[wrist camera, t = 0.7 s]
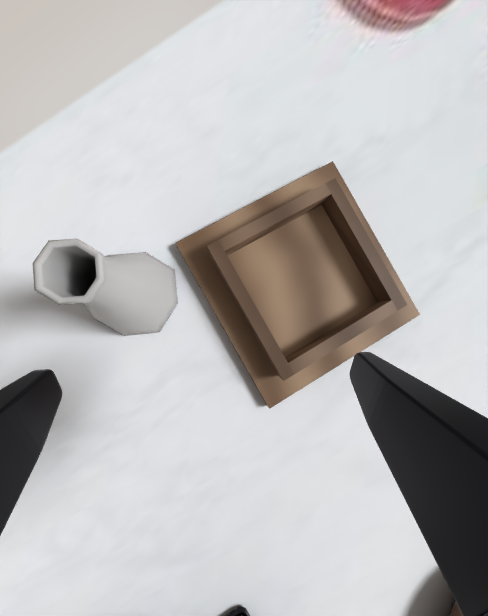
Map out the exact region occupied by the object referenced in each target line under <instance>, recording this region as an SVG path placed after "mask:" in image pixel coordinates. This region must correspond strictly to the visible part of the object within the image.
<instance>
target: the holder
mask: <svg viewBox="0 0 488 616" xmlns="http://www.w3.org/2000/svg"><path fill="white" fill-rule="evenodd" d="M176 245H177V247H178V249H179V251H180V252H181V254H182V256H183V258H184V259H185V261H186V263H187V265H188V266H189V268H190V270H191V272H192V273H193V275H194V277H195V279H196V280H197V282H198V284H199V286H200V287H201V289H202V291H203V293H204V294H205V296H206V298H207V300H208V302H209V303H210V305H211V307H212V309H213V310H214V312H215V314H216V316H217V317H218V319H219V321H220V323H221V324H222V326H223V328H224V330H225V331H226V333H227V335H228V337H229V338H230V340H231V342H232V344H233V346H234V347H235V349H236V351H237V353H238V354H239V356H240V358H241V360H242V361H243V363H244V365H245V367H246V368H247V370H248V372H249V374H250V375H251V377H252V379H253V381H254V382H255V384H256V386H257V388H258V389H259V391H260V393H261V395H262V397H263V398H264V400H265V402H266V404H267V405H268V407H269V409H270V408H271V407H273V406H275V405H276V404H278V403H279V402H281V401H283V400H284V399H286V398H287V397H289V396H291V395H292V394H294V393H295V392H297V391H299V390H300V389H302V388H303V387H305V386H307V385H308V384H310V383H311V382H313V381H315V380H316V379H318V378H319V377H321V376H323V375H324V374H326V373H327V372H329V371H331V370H332V369H334V368H335V367H337V366H339V365H340V364H342V363H343V362H345V361H347V360H348V359H350V358H351V357H353V356H355V354H356V353H359V352H361V351H363V350H364V349H366V348H367V347H369V346H371V345H372V344H374V343H375V342H377V341H379V340H380V339H382V338H383V337H385V336H387V335H388V334H390V333H391V332H393V331H395V330H396V329H398V328H399V327H401V326H403V325H404V324H406V323H407V322H409V321H411V320H412V319H414V318H415V317H417V316H419V315H420V314H419V312H418V310H417V309H416V307H415V305H414V303H413V302H412V300H411V298H410V296H409V294H408V293H407V291H406V289H405V287H404V286H403V284H402V282H401V280H400V279H399V277H398V275H397V273H396V272H395V270H394V268H393V266H392V265H391V263H390V261H389V259H388V258H387V256H386V254H385V252H384V250H383V249H382V247H381V245H380V243H379V242H378V240H377V238H376V236H375V235H374V233H373V231H372V229H371V228H370V226H369V224H368V222H367V221H366V219H365V217H364V215H363V214H362V212H361V210H360V208H359V207H358V205H357V203H356V201H355V199H354V198H353V196H352V194H351V192H350V191H349V189H348V187H347V185H346V184H345V182H344V180H343V178H342V177H341V175H340V173H339V171H338V170H337V168H336V166H335V164H334V163H333V161H332V162H331V163H329V164H327V165H325V166H323V167H321V168H319V169H317V170H315V171H313V172H311V173H309V174H307V175H306V176H304V177H302V178H300V179H298V180H296V181H294V182H292V183H290V184H288V185H286V186H284V187H282V188H281V189H279V190H277V191H275V192H273V193H271V194H269V195H267V196H265V197H263V198H261V199H259V200H257V201H256V202H254V203H252V204H250V205H248V206H246V207H244V208H242V209H240V210H238V211H236V212H234V213H232V214H231V215H229V216H227V217H225V218H223V219H221V220H219V221H217V222H215V223H213V224H211V225H209V226H207V227H205V228H204V229H202V230H200V231H198V232H196V233H194V234H192V235H190V236H188V237H186V238H184V239H182V240H180V241H179V242H177V243H176Z"/></svg>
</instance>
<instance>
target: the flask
mask: <svg viewBox="0 0 488 616" xmlns="http://www.w3.org/2000/svg"><path fill="white" fill-rule="evenodd" d="M33 274H34V289H35V291H37V292H39V293H40V294H42V295H44V296H45V297H47V298H49V299H51V300H52V301H54V302H56V303H58V304H60V305H66V304H77V303H83V304H84V305H85V306H86V307H87V308H88V310H89V311H90V313H91V315H92V316H93V317H94V318H95V319H97V320H99V321H100V322H102V323H104V324H105V325H107V326H109V327H111V328H112V329H114V330H116V331H117V332H119V333H121V334H123V335H124V336H126V335H136V334H145V333H155V332H160V331H161V329H162V328H163V326H164V324H165V323H166V321H167V320H168V318H169V316H170V315H171V313H172V312H173V310H174V309H175V307H176V305H177V304H178V299H177V288H176V277H175V270H174V269H172V268H171V267H169V266H167V265H166V264H164V263H163V262H161V261H159V260H158V259H156V258H154V257H153V256H151V255H149V254H148V253H146V252H143V253H130V254H117V255H108V256H104V255H103V254H102V253H101V252H99V251H97V250H95V249H94V248H92V247H90V246H89V245H87V244H85V243H84V242H82V241H80V240H79V239H66V240H51V241H48V242H47V244H46V245H45V246H44V248H43V249H42V251H41V252H40V254H39V255H38V256H37V258H36V259H35V261H34V262H33Z"/></svg>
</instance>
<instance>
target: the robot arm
mask: <svg viewBox="0 0 488 616" xmlns="http://www.w3.org/2000/svg"><path fill="white" fill-rule="evenodd" d="M350 379H351V382H352V385H353V387H354V390H355V393H356V395H357V398H358V401H359V403H360V406H361V409H362V411H363V414H364V416H365V419H366V421H367V424H368V426H369V428H370V430H371V432H372V434H373V436H374V438H375V440H376V442H377V444H378V446H379V448H380V450H381V452H382V454H383V456H384V458H385V460H386V462H387V464H388V466H389V468H390V470H391V472H392V474H393V476H394V478H395V480H396V482H397V484H398V486H399V488H400V490H401V492H402V494H403V496H404V498H405V500H406V502H407V504H408V506H409V508H410V510H411V512H412V514H413V516H414V518H415V520H416V522H417V524H418V526H419V528H420V530H421V532H422V534H423V536H424V538H425V540H426V542H427V544H428V546H429V548H430V550H431V552H432V554H433V556H434V558H435V560H436V562H437V564H438V566H439V568H440V570H441V572H442V574H443V576H444V578H445V580H446V582H447V584H448V586H449V588H450V590H451V592H452V594H453V596H454V598H455V600H456V602H457V604H458V606H459V608H460V610H461V612H462V614H463V616H488V418H486V417H484V416H483V415H481V414H479V413H477V412H476V411H474V410H472V409H470V408H468V407H467V406H465V405H463V404H461V403H460V402H458V401H456V400H454V399H452V398H451V397H449V396H447V395H445V394H444V393H442V392H440V391H438V390H436V389H435V388H433V387H431V386H429V385H428V384H426V383H424V382H422V381H420V380H419V379H417V378H415V377H413V376H411V375H410V374H408V373H406V372H404V371H403V370H401V369H399V368H397V367H395V366H394V365H392V364H390V363H388V362H387V361H385V360H383V359H381V358H379V357H378V356H376V355H374V354H372V353H370V352H359V353H356V354H355V356H354V359H353V363H352V366H351V370H350ZM61 398H62V389H61V387H60V385H59V382H58V380H57V378H56V376H55V374H54V372H53V371H52V370H49V369H45V370H34V371H32V372H30V373H28V374H27V375H25V376H23V377H21V378H20V379H18V380H16V381H15V382H13V383H11V384H9V385H8V386H6V387H4V388H3V389H1V390H0V535H1V533H2V531H3V529H4V527H5V525H6V523H7V521H8V519H9V517H10V515H11V513H12V511H13V509H14V507H15V505H16V503H17V501H18V499H19V497H20V495H21V492H22V490H23V488H24V486H25V484H26V482H27V480H28V478H29V476H30V474H31V472H32V470H33V468H34V466H35V464H36V462H37V460H38V458H39V455H40V453H41V451H42V449H43V446H44V444H45V441H46V439H47V436H48V433H49V431H50V428H51V425H52V423H53V420H54V417H55V414H56V412H57V409H58V406H59V404H60V401H61ZM241 615H242V616H250V615H249V613H248V611H247V610H246V608H244V607H239V608H237V609H236V610H235V611H233V612H232V613H230V614H229V615H228V616H241Z"/></svg>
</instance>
